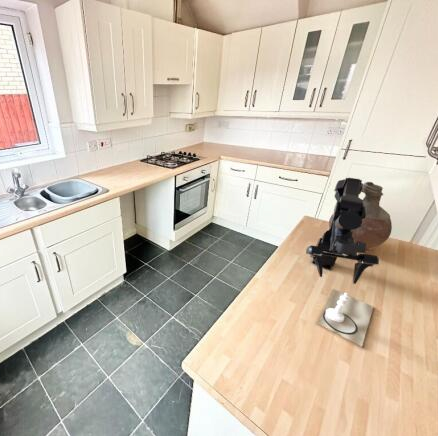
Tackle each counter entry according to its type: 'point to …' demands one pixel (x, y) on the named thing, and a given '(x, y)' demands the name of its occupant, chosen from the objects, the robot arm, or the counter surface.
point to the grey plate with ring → (349, 318)
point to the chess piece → (337, 310)
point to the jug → (372, 219)
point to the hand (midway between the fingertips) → (337, 280)
